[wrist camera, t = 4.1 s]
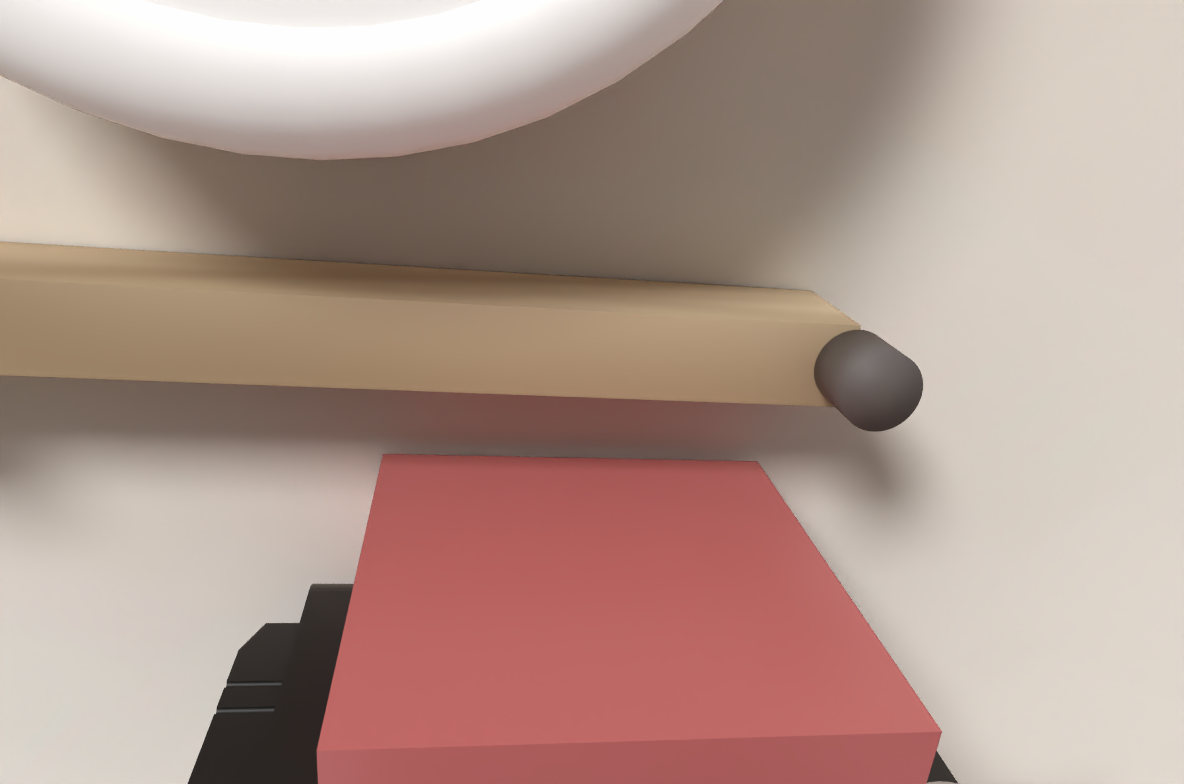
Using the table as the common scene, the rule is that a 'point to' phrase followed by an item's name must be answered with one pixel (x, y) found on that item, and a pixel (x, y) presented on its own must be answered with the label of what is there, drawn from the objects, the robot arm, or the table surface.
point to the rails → (437, 331)
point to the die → (606, 635)
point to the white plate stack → (332, 66)
